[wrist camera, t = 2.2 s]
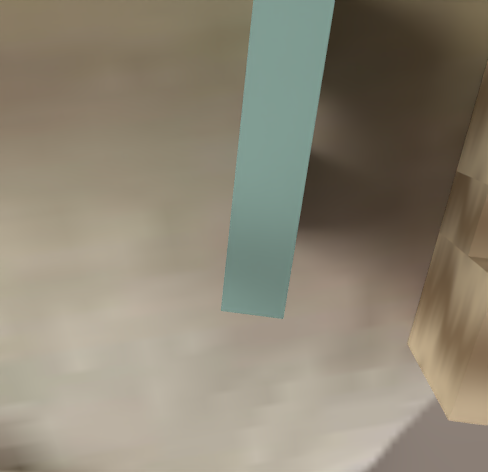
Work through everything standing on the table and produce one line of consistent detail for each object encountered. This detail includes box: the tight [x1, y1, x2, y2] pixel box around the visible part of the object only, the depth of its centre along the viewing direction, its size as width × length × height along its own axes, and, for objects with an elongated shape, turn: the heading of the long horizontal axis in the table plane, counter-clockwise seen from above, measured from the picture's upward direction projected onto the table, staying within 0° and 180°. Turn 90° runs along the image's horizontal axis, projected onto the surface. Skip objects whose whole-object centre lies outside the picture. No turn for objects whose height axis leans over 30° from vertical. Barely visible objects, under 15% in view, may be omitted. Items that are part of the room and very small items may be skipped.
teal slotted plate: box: [221, 0, 335, 319], centre depth 19 cm, size 2×14×11 cm, turn 174°
